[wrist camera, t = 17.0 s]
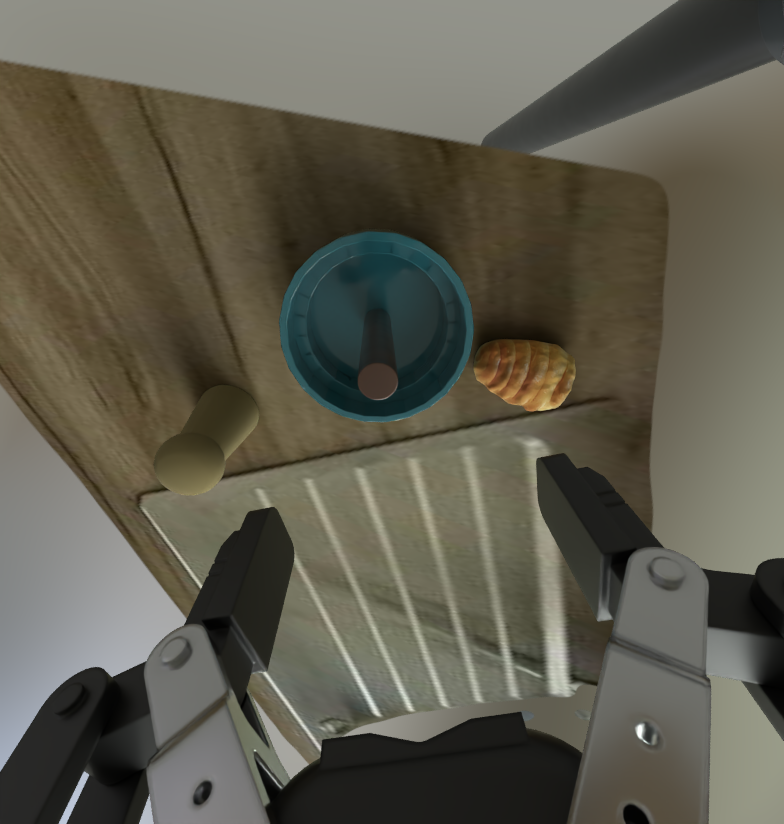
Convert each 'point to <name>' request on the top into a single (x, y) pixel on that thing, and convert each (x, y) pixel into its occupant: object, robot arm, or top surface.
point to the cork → (206, 441)
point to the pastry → (526, 372)
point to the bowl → (345, 312)
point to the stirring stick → (377, 357)
